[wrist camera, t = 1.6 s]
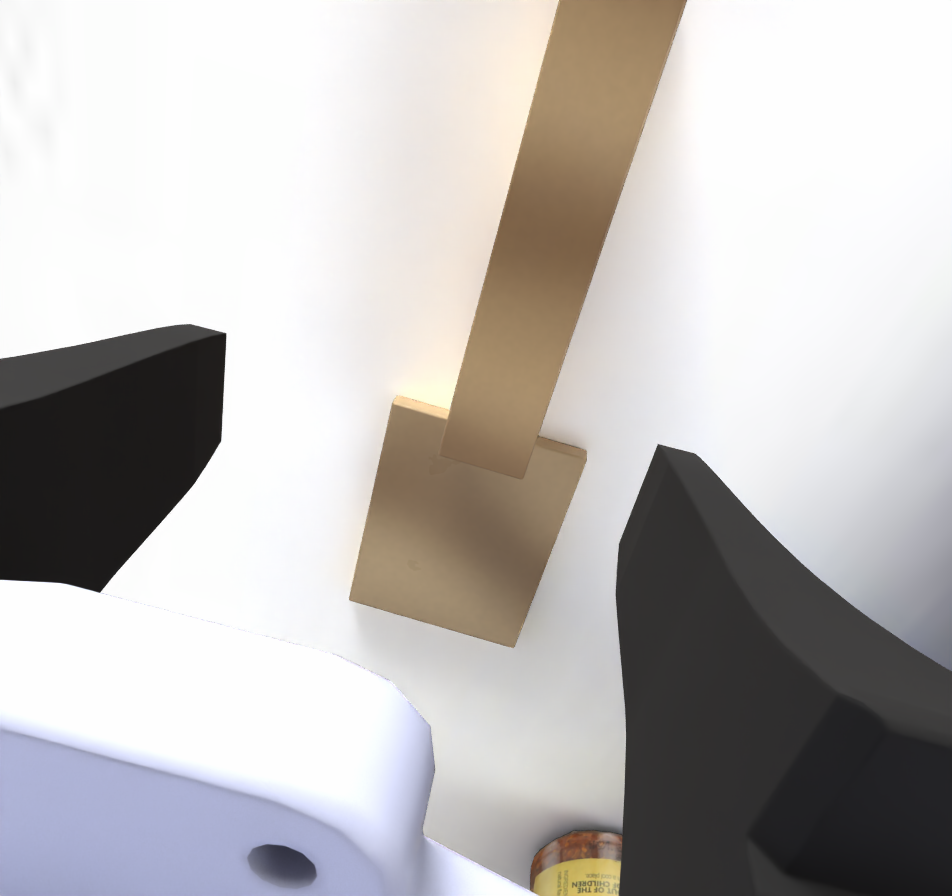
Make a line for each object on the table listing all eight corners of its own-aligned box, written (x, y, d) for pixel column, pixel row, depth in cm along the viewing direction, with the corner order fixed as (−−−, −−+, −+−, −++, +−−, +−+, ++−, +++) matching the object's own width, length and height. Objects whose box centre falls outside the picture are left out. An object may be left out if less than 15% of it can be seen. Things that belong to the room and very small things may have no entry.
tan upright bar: (515, 637, 27) (507, 697, 24) (352, 589, 27) (328, 645, 24) (760, 1, 17) (788, -4, 14) (501, -76, 17) (485, -93, 14)
